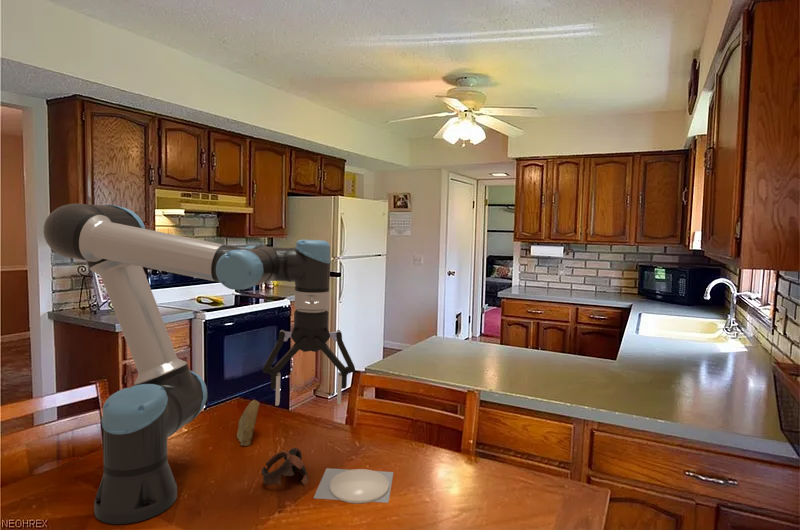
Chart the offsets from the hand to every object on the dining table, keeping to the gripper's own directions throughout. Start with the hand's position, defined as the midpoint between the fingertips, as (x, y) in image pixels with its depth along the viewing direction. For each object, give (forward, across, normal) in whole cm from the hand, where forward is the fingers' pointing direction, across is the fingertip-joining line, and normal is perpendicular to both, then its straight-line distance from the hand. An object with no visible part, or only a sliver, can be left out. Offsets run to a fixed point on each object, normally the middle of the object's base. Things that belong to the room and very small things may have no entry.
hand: (308, 402), depth 111 cm
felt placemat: (+18, +11, -4) cm, 22 cm away
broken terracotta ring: (+19, -4, 0) cm, 19 cm away
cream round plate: (+17, +12, -5) cm, 22 cm away
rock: (+19, -17, +25) cm, 36 cm away
